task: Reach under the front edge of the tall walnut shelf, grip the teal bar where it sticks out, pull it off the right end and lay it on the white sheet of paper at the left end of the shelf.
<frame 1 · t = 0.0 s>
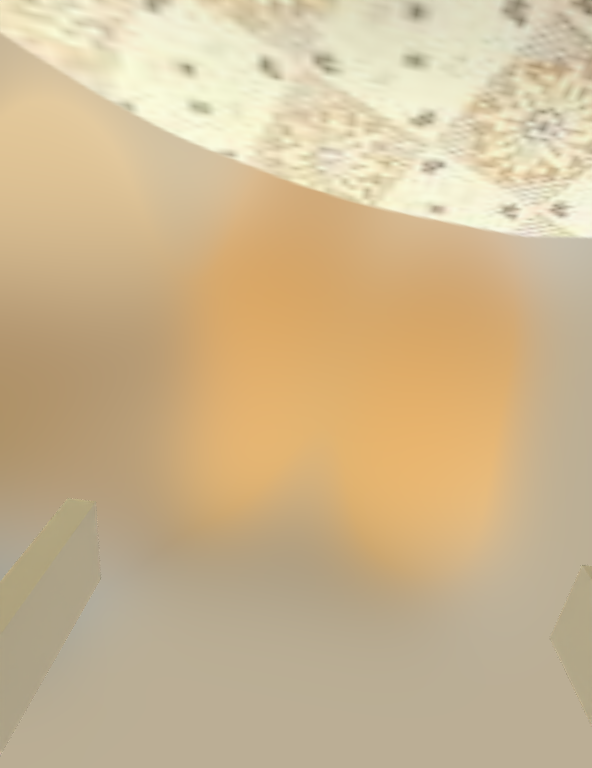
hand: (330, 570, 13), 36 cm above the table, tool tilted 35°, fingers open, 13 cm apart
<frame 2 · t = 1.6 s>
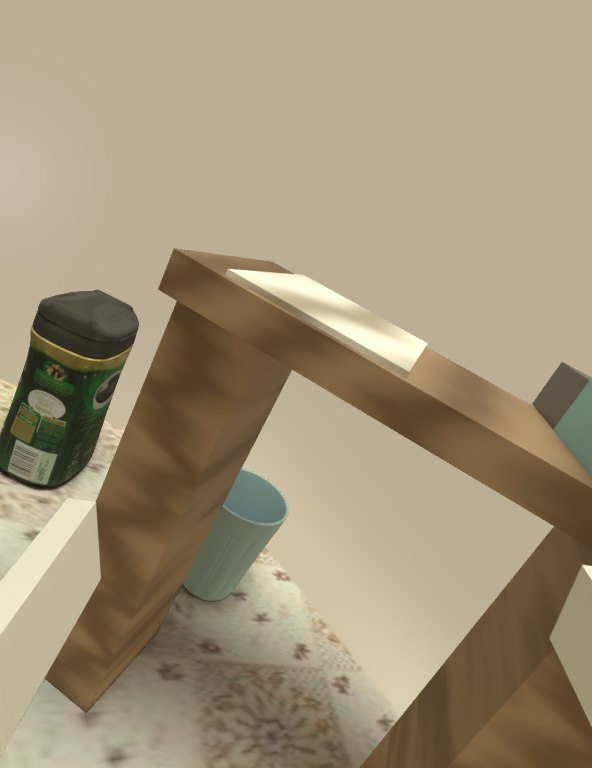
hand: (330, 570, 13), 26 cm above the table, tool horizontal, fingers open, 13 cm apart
cup: (205, 579, 47), on the table
shelf: (226, 748, 34), on the table
coffee jar: (42, 461, 51), on the table
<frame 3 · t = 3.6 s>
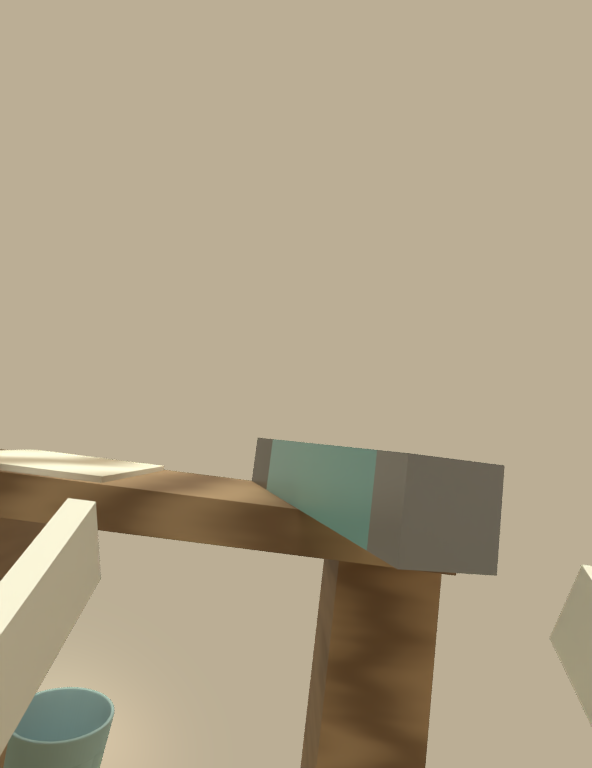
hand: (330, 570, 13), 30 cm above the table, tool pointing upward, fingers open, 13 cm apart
teal bar: (321, 507, 24), point 30 cm above the table, touching shelf
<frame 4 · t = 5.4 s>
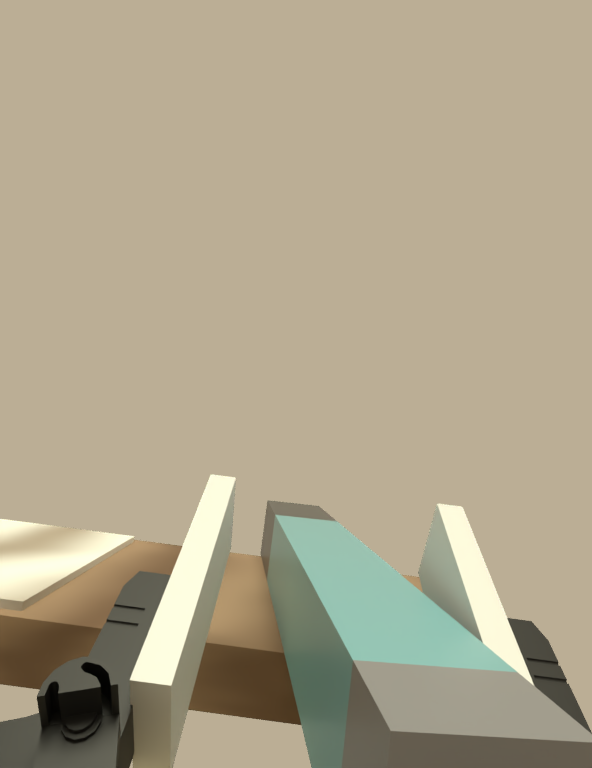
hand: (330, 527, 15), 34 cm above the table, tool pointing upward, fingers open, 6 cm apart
teal bar: (321, 635, 17), point 30 cm above the table, touching gripper, shelf
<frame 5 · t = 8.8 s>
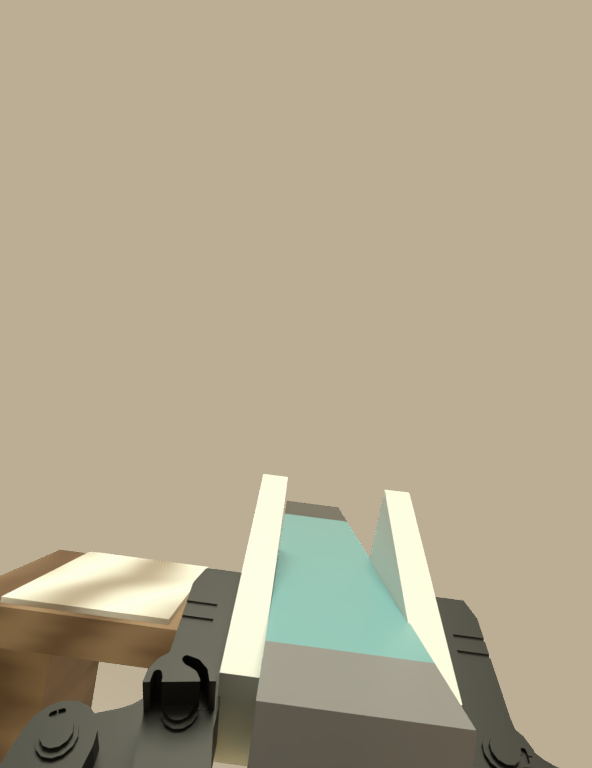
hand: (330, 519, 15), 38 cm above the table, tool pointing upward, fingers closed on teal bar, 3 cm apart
teal bar: (312, 631, 17), point 34 cm above the table, touching gripper
when the fingers open (36 cm above the table, at t = 12.0 s): teal bar drops 1 cm, resting on shelf.
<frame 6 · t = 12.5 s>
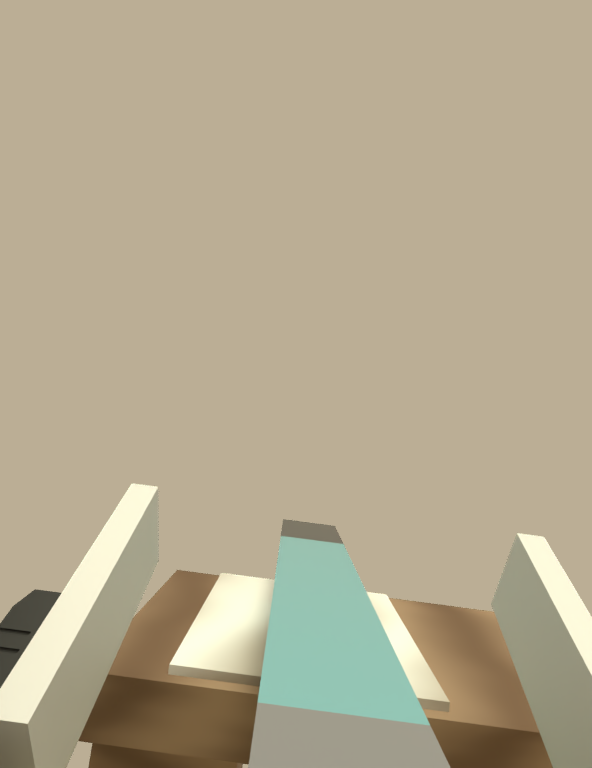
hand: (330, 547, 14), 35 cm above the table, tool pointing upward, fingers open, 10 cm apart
teal bar: (307, 662, 17), point 30 cm above the table, touching shelf
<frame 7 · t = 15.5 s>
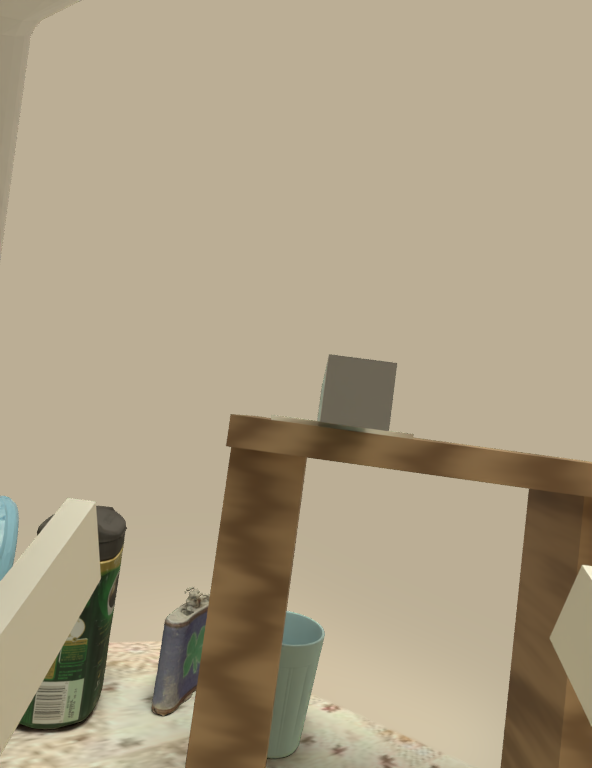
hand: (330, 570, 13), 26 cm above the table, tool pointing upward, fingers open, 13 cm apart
teal bar: (340, 424, 32), point 30 cm above the table, touching shelf
cup: (269, 740, 46), on the table
flask: (181, 694, 52), on the table
coffee jar: (55, 704, 47), on the table
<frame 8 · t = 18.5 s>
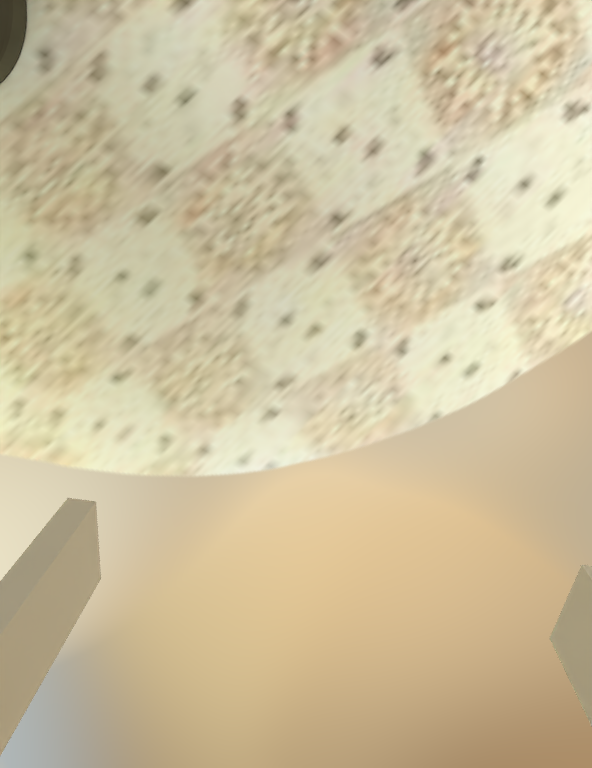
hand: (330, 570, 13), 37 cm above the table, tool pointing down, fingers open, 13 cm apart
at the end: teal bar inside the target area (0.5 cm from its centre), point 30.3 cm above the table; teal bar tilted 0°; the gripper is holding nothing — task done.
